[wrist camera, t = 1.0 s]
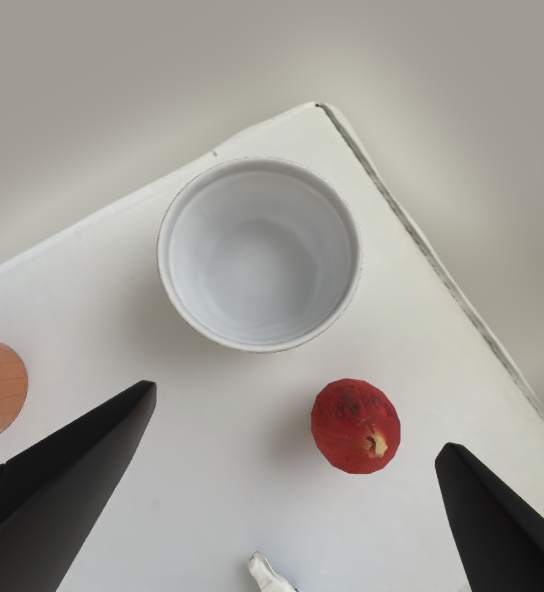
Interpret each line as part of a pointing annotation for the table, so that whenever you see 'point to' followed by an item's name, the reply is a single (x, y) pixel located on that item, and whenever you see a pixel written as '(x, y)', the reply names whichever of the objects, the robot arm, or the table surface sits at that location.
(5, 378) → the terracotta pot
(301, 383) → the table surface
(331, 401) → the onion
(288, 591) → the white animal figurine
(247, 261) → the ramekin
